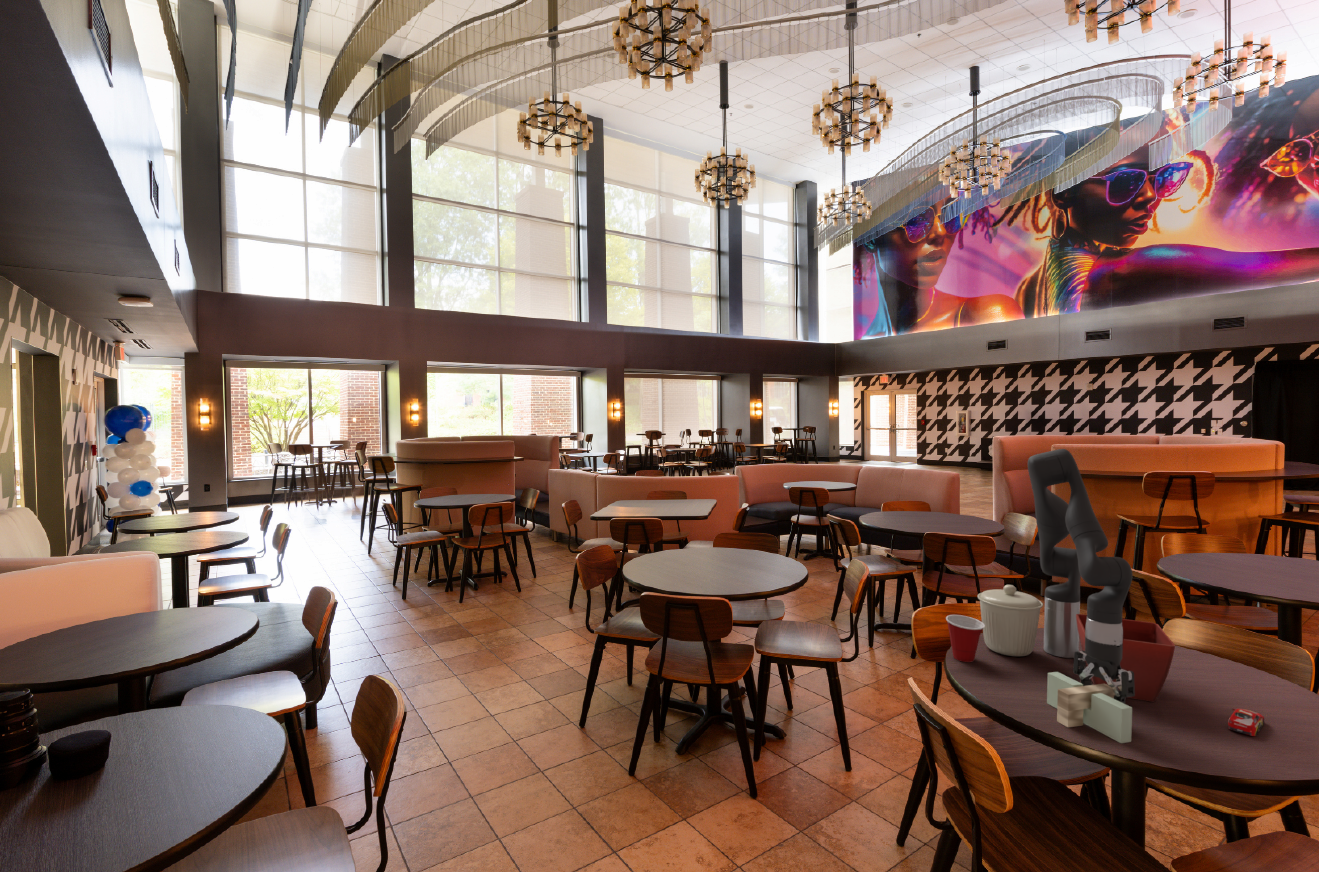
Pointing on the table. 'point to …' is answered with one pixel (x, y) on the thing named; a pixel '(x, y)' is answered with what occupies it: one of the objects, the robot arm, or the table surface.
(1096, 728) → the notched board
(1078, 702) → the slotted plate
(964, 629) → the plastic cup
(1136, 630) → the plant pot
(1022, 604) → the canister
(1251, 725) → the race car
